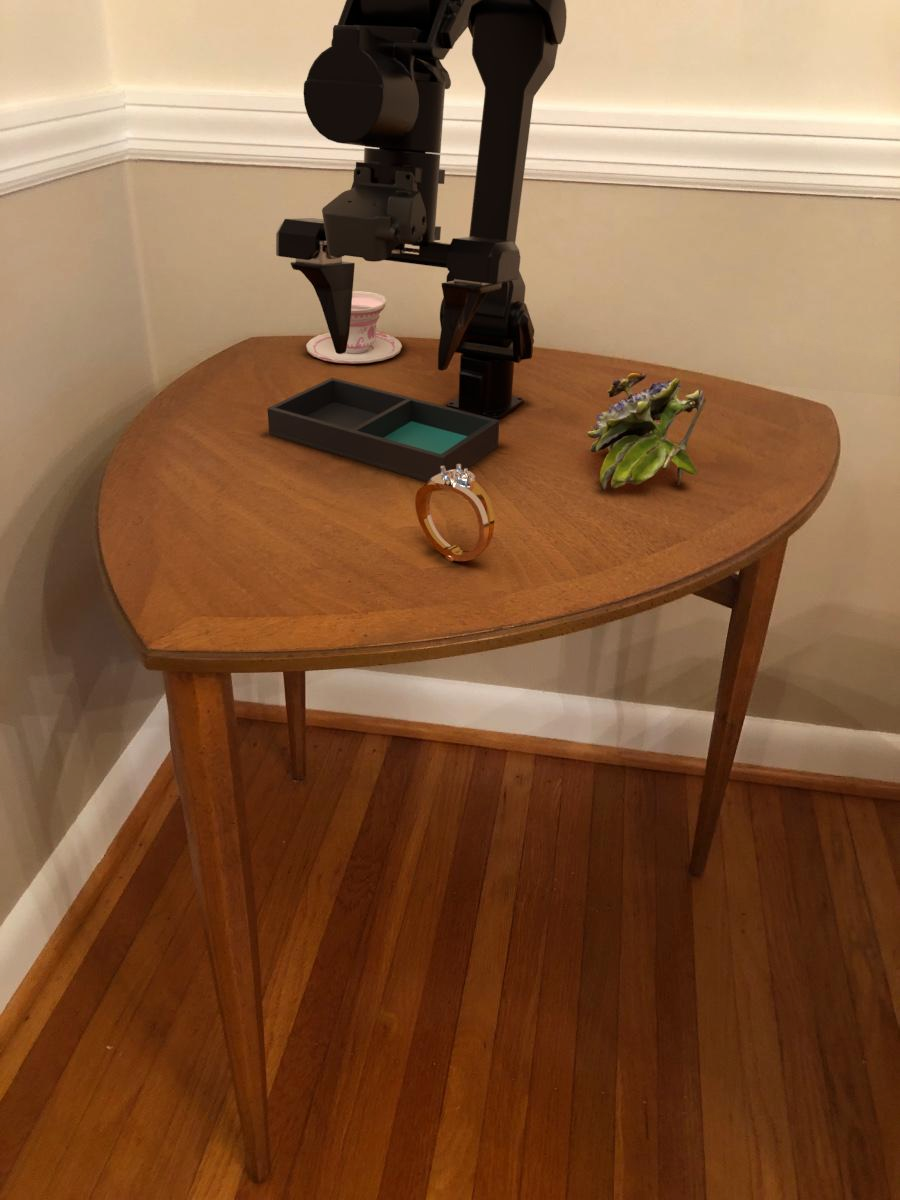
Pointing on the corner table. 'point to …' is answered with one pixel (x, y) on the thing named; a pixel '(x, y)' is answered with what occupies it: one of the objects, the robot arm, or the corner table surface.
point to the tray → (383, 428)
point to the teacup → (359, 334)
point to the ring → (470, 491)
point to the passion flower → (643, 431)
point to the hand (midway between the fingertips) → (390, 361)
